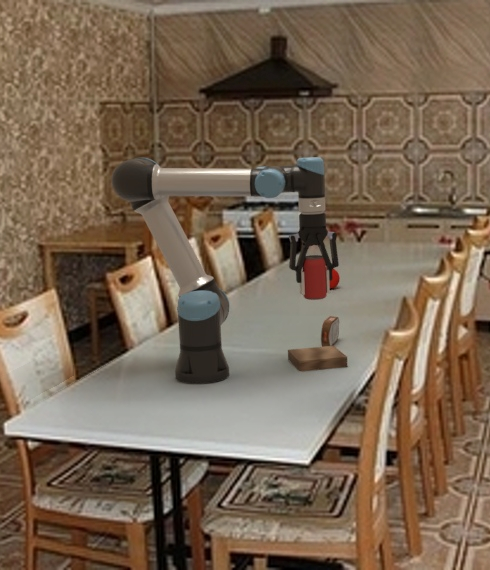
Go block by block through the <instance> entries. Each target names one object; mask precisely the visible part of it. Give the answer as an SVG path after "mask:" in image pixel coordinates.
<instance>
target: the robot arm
mask: <svg viewBox="0 0 490 570" xmlns="http://www.w3.org/2000/svg"><path fill="white" fill-rule="evenodd" d="M324 162H325V161H324V159H323V158H321V157H318V156H317V157H316V156H315V157H309V156H308V157H299V158H298V159H297V161H296V164H293V165H275V166H274V165H265V166H258V167H256V168H219V167H218V168H216V167H215V168H213V167H212V168H211V167H210V168H208V167H207V168H205V167H204V168H200V167H198V168H197V167H196V168H193V167H191V168H190V167H189V168H188V167H187V168H184V167H183V168H182V167H180V168H179V167H173V168H172V167H170V168H169V167H161V166H160V165H159V164H158V163H157V162H155V161H154V160H152V159H150V158H147V157H135V158H132V159H127V160H125V161H122V162H120V163H119V164H118V165H116V167H115V168H114V169H113V171H112V174H111V186H112V189H113V192H114V193H115V194H116V195H117V197H119V198H120V199H122V200H124V201H125V202H126V201H127V202H128V203H129V204H130V206H131V208H132V210H133V212H134V213H137V214H140V215H141V216H142V218H143V220H144V222H145V224H146V226H147V227H148V231H150V234H151V236H152V237H153V239H154V242H155V243H156V245H157V247H158V249H159V250H160V252H161V254H162V256H163V258H164V260H165V262H166V264H167V266H168V268H169V270H170V272H171V273H172V275H173V277H174V279H175V281H176V283H177V285H178V288H179V291H178V293H177V294H178V295H177V296H178V299H177V306H176V310H177V311H176V312H177V320H178V335H179V337H178V338H179V355H178V357H177V358H178V359H177V362H176V366H175V370H174V373H175V380H177V381H178V382H180V383H187V384H209V383H211V384H212V383H215V382H220V381H223V380H225V379H226V380H227V378H229V376H230V367H229V364H228V361H227V359H226V355H225V354H224V353H225V352H224V350H223V347H222V327H221V326H222V324H223V323H224V322H225V321H226V320H227V319H228V316H229V312H230V300H229V298H228V295H227V294H226V292H224V290H223V289H222V288H220V287H219V285H218V284H217V281H216V280H215V278H214V276H212V275H209V274H207V273H206V271H205V270H204V268H203V265H202V264H201V261H200V260H199V258H198V255H197V254H196V251H195V250H194V248H193V247H192V245H191V242H190V240H189V239H188V237H187V235H186V233H185V231H184V229H183V227H182V225H181V222H179V220H178V218H177V215H176V214H175V211H174V210H173V208H172V206H171V204H170V202H169V198H170V197H254V198H255V197H256V198H257V197H258V198H259V197H261V198H262V197H263V198H266V199H272V198H277V197H278V196H280V195H281V194H283V193H298V195H297V196H298V197H297V198H298V212H299V215H298V222H299V223H298V226H299V228H298V231H297V233H294V234H289V235H288V238H289V242H290V244H289V246H290V247H289V248H290V249H289V265H288V268H289V269H290V270H291V271H295V279H296V280H295V281H296V283H298V284H299V293H300V294H301V295H305V282H304V272H303V264H304V260H305V257H306V256H307V253H308V250H309V247H312V246H317V248H319V251H320V255H321V256H323V258H324V261H325V264H326V267H327V269H326V293H327V294H329V293H330V292H331V289H330V286H329V281H331V280H332V279H333V276H332V270H333V269H335V268H338V267H339V265H340V263H339V256H338V249H337V237H338V234H337V233H336V232H334V231H328V228H327V221H326V220H327V218H326V217H327V215H326V213H325V211H326V189H325V188H326V184H325V183H326V182H325V180H326V179H325V175H326V174H325V163H324ZM326 237H327V239H329V247H330V255H331V257H330V256H329V254H328V251H327V249H326V245H325V242H324V241H325V239H326ZM299 239H300V240H301V241H302V244H301V248H300V251H299V255H298V259H297V245H298V243H297V242H299ZM330 258H331V259H330ZM296 262H297V263H296Z"/></svg>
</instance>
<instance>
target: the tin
mask: <svg viewBox="0 0 490 570" xmlns="http://www.w3.org/2000/svg"><path fill="white" fill-rule="evenodd" d="M320 332H321V333H320V343H321V347H325V346H334V344H336V343H337V342H338V340H339V333H340V319H339V317H338V316H333V315H329V316H327V318H325V320H324V321H323V322H322V327H321V331H320Z"/></svg>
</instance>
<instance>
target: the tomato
mask: <svg viewBox="0 0 490 570" xmlns="http://www.w3.org/2000/svg"><path fill="white" fill-rule="evenodd" d="M326 269H327V267H326ZM332 276H333V279H332V280H331V281H329V286H330V290H332V289H331V288H333V289H334V288H336V287H337V286H338V285H339V284H340V279H341V278H340V274H339V271H338V270H337V269H335V268H333V270H332Z"/></svg>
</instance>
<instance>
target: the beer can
mask: <svg viewBox="0 0 490 570" xmlns="http://www.w3.org/2000/svg"><path fill="white" fill-rule="evenodd" d="M302 271H303V272H304V282H305V295H303V298H304V299H305V300H309V301H310V300H311V301H316V300H317V301H318V300H323V299H325V298H326V297H327V295H328V293H326V264H325V261H324V258H323V256H322V254H320V255H318V254H313V255H312V254H311V255H310V254H309V255H306V257H305V260H304V264H303V267H302Z"/></svg>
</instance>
